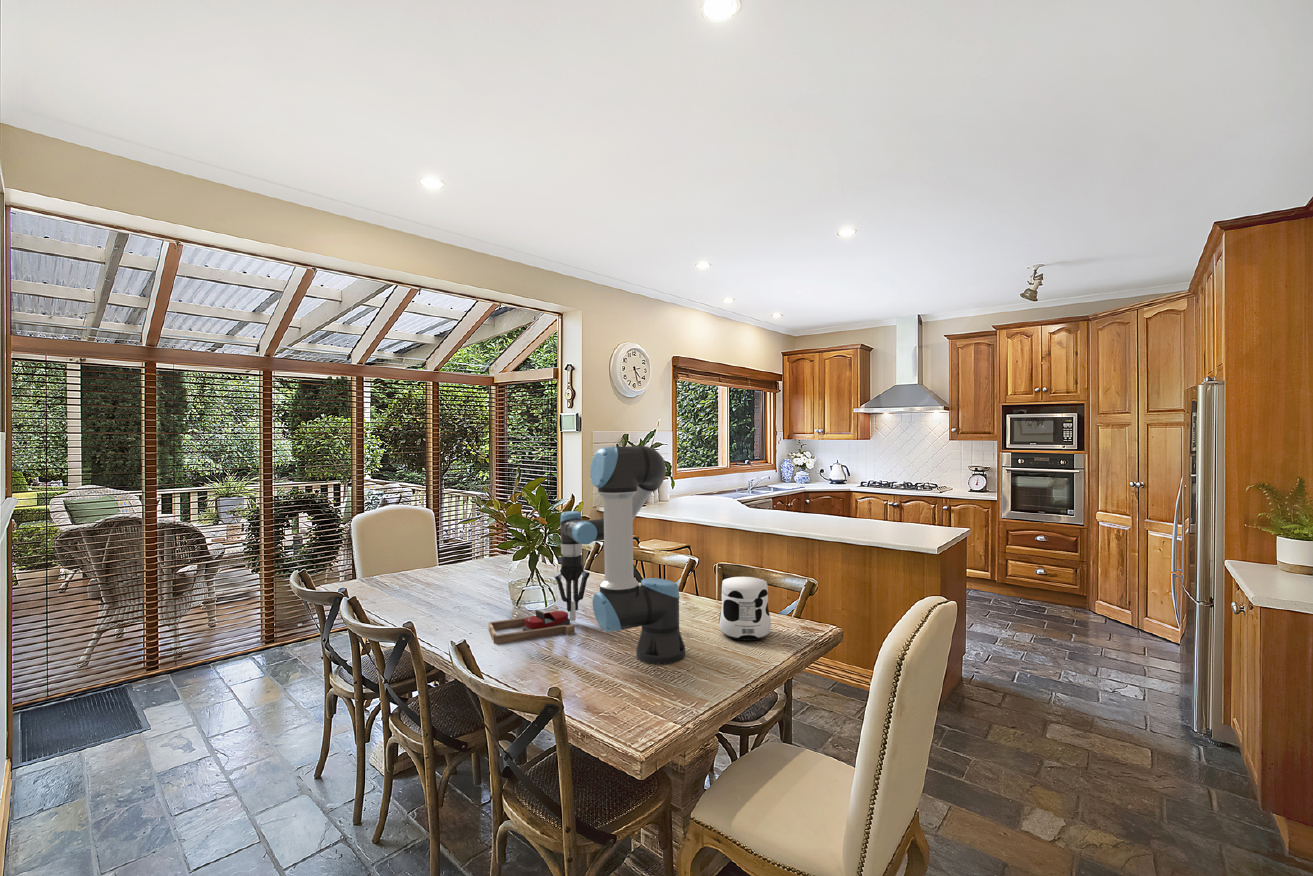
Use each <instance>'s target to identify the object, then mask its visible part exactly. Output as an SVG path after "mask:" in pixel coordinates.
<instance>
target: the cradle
mask: <svg viewBox="0 0 1313 876" xmlns="http://www.w3.org/2000/svg"><path fill="white" fill-rule="evenodd" d="M534 616H535V617H536V615H534ZM526 618H528V616H525V617H519V618H517V617H516V618H511V619H503V620H497V621H489V623H488V632H489V635H490V637H491V640H492V641H493V644H496V645H499V644H500V645H501V644H506V643H512V642H519V641H524V640H530V639H539V638H547V637H552V636H558V635H571V634H574V633H576V632H575V631H576V629H575V628H576V627H575V624H572V623H570V624H569V625H568V626H567V625H561V626H554V627H547V628H540V629H534V630H527V631H523V630H522V631H514V632H507V633H501V634H497V632H496V630H503V629H511V628H518V627H524V626H525V619H526Z"/></svg>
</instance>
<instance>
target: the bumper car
mask: <svg viewBox="0 0 1313 876" xmlns="http://www.w3.org/2000/svg"><path fill="white" fill-rule="evenodd" d="M521 608H523V609H525V610H526V612H527V617H528V618H526V619H525V626H522V631H527V630H534V629H540V628H547V627H554V626H561V625H567V626H568V625H571V620H570V617H569V612H568V611H567V612H566V611H564V610H553V611H549V612H543V611H542V610H541V611H540V610H538V609H536V610H534V612H535V615H530V613H529V611H528V610H529V609H528V608H526V606H520V605H519V606H518V607H517V609H519V610H520V609H521ZM535 616H536V617H535Z"/></svg>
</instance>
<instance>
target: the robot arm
mask: <svg viewBox="0 0 1313 876" xmlns="http://www.w3.org/2000/svg"><path fill="white" fill-rule="evenodd" d="M589 473H590V474H589V475H590V479H591V483H592V485H593V486H594V487H595V488H597V493H598V494H599V495H600V496H601V497H602V499H603V502H602V503H603V518H598V519H596V518H595V519H586V520H585V519H583V517H582V512H580V511H577V510H571V511H570V510H568V511H562V512H561V513H560V521H559V524H560V554H561V556H560V566H561V568H560V570H559V572H558V573H557V574H554V575H553V577H554V579H555V581H556V583H557V587H558V591H559V595H560V598H561V601H562V602H564V603H565V602H566V611H567V613H569V619H570V622H575V621H576V615H577V614H576V611H577V612H578V610H579V602H580V600H583V599H584V596H585V590H586V586H587V582H588V578H589V577H590V575H591V574H590V572H588V571H587V570H584V569H585V568H584V566H583V555H582V553H583V545H589V544H592V543H594V542H598V541H599V542H601V541H603V549H604V550H603V551H604V553H603V554H604V555H603V556H604V557H603V559H604V579H603V580H601V582H600V583H599V591H597V592H595V593H594V594H593V597H592V610H593V615H594V617H595V620H596V621H597V624H598V626H599V627H600V628H601V629H602V630H603V631H605V632H607V633H611V632H621V631H623V630H628V629H634V628H637V627H641V632H640V635H639V637H638V641H637V644H636V648H635V650H636V651H635V653H636V655H635V656H636V658H637V659H638V660H639V661H640V662H643V663H646V664H650V665H670V664H674V663H679V662H680V661H682V660H683V659H685V657H686V647H685V643H684V640H683V637H682V634H681V632H680V591H679V590H680V589H679V586H678V584H677V583H676V582H674V581H672V580H669V579H665V578H659V577H658V578H657V577H649V578H648V577H647V578H643V579H641V580H640V582H639V581H638V580H637V579H636V578H635V577H634V575H635V574H634V527H633V526H634V525H633V523H634V522H633V521H634V519H635V518H636V516H637V515H638V514H639V512H640V511H641V509H642V507H643V506H644V504H645V503H646V502H647V500H648V499H649V497H650V496H651V495H652V493H653V492H655V491H657V490H658V489H660V488H661V486H662V484H663V482H664V480H665V477H666V473H667V469H666V462H665V459H664V458H663V456H662V455H661V454H660V453H659V451H657V450H656V449H654V448H653V447H649V446H646V445H639V446H637V445H636V446H633V445H632V446H631V445H630V446H615V445H613V446H606V447H600V448H598V449H597V451H596V452H595V454H594V455H593V457H592V460H591V464H590V472H589ZM581 576H582V577H581ZM580 577H581V580H580V581H581V582H580V587H579V579H580ZM562 578H564V580H565V589H564V585H563V582H562ZM572 587H573V588H572ZM565 590H566V591H565ZM572 591H573V593H572ZM572 597H573V599H572Z"/></svg>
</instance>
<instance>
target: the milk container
mask: <svg viewBox="0 0 1313 876" xmlns="http://www.w3.org/2000/svg"><path fill="white" fill-rule="evenodd" d="M768 586H769V585H768V582H767V581H766V580H765V579H762V578H758V577H754V576H753V577H752V576H733V577H729V578H724V579H723V580H722V584H721V594H720V595H721V609H720V612H719V618H718V621H719V623H718V624H719V627H720V631H721V633H722V634H724V635H725V637H728V638H730V639H734V640H740V641H755V640H761V639H763V638H765V637H767V636H768V635H769V634H770V632H771V627H772V619H771V614H770V611H769V587H768Z"/></svg>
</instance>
